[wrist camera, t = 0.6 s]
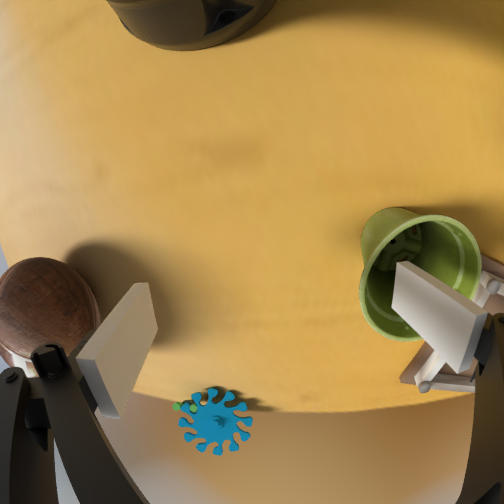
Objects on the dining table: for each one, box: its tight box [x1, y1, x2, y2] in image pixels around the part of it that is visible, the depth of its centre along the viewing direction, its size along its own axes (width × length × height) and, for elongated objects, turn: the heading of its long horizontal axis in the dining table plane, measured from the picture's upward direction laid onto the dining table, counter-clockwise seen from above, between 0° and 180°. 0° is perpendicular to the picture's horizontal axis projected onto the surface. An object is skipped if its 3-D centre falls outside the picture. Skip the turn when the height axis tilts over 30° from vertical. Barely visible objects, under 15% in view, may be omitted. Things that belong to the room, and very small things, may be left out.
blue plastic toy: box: [173, 388, 253, 455], centre depth 35 cm, size 11×6×10 cm
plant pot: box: [359, 207, 482, 342], centre depth 20 cm, size 9×9×9 cm
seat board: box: [399, 253, 504, 393], centre depth 24 cm, size 18×18×4 cm
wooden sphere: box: [0, 257, 101, 378], centre depth 26 cm, size 15×15×15 cm
